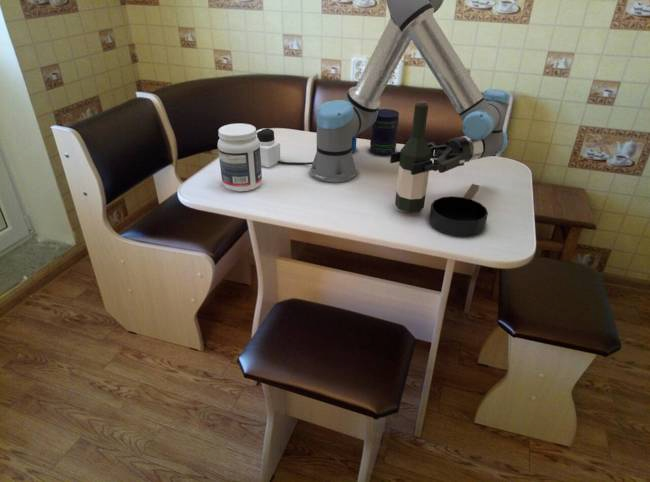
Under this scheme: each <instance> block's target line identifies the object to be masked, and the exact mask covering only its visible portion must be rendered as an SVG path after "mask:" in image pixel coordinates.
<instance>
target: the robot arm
mask: <svg viewBox="0 0 650 482" xmlns="http://www.w3.org/2000/svg"><path fill="white" fill-rule="evenodd" d="M385 1H386V6H387V9H388V12H389V17H390V18H389V20H388V22H387V24H386V26H385V28H384V30H383V32H382V34H381V36H380V37H379V38H380V39H379V40H378V42H377V44H376V46H375V47H374V50H373V52H372V54H371V56H370V58H369V60H368V62H367V64H366V66H365V68H364V69H363V71H362V74H361V75H360V76H359V77H360V78H359V80H358V82H357V83H356V85H354V86H352V87H350V88H349V89H348V91H347V93H346V95H345V97H344V99H333V100H328V101H325V102H323V103H322V104H320V105H319V106H318V108H317V110H316V117H315V122H316V153H315V154H314V158H313V160H312V161H311V162H309V161H308V162H307V161H306V162H293V161H292V162H290V161H289V162H288V161H278V163H277V164H281V165H282V164H283V165H296V166H297V165H298V166H299V165H300V166H306V165H311V167H310V168H311V169H310V174H311V176H312V177H313V178H314V179H316V180H318V181H320V182H325V183H343V182H344V183H345V182H349V181H351V180H352V179H354V178H355V177H356V176H357V167H356V164H355V160H354V156H353V152H351V151H352V137H354V136H356V135H357V136H358V135H359V134H360V133H363V132H365V131H367V130H368V129H369V128H372V125H373V123H374V122H375V121H376V118H377V115H378V109H380V106H381V102H380V98H381V96H382V94H383V92H384V90H385V88H386V87H387V86H388V83H389V81H390V79H391V77H393V74H394V72H395V70H396V69H397V67H398V65H399V63H400V61H401V60H402V57H404V54H405V52H406V51H407V49H408V47H409V45H410V43H411V42H412V43H413V46H414V47H415V48H416V49H417V52H419V54H420V56H421V58H422V59H423V60H424V62H425V64H426V65H427V67H428V68H429V70H430V72H431V73H432V75H433V77H434V78H435V79H436V81H437V83H438V84H439V86H440V87H441V89H442V91H443V92H444V94H445V95H446V97H447V98H448V100H449V101H450V103H451V104H452V106H453V108H454V110H455V111H456V113H457V114H458V116H459V117H460V119H461V121H462V125H461V128H462V132H463V134H464V135H462V136H458V137H453V138H450V139H449V140H448V141H447V142H446V143H445V144H440V145H436V142H434V141H430V142H427V144H428V146H429V148H430V150H431V153H432V154H431V160H429V161H425V162H420V163H416V164H412V168H411V174H412V175H415V174H419V173H423V172H427V171H429V172H430V171H433V172H437V171H438V173H439V174H443V173H446V172H448V171H450V170H453V169H454V168H457V167H462V166H465V163H469V162H472V161H475V160H479V159H483V158H488V157H494V156H496V155H499V154H501V153H503V152H504V151H505V150H506V149H507V147H508V143H509V141H508V135H507V133H506V132H505V131H504V126H505V122H506V118H507V113H508V110H509V106H510V99H511V94H510V93H509V92H508V91H506V90H503V89H497V88H490V89H489V88H488V89H486V90H484V91H483V93H482V91H481V90H480V89H479V87H478V86H477V84H476V82H475V80H474V79H473V77H472V75H470V73H469V71H468V70H467V68H466V66H465V65H464V63H463V61H462V60H461V57H460V56H459V54H458V53H457V52H456V50H455V49H454V46H452V44H451V42H450V41H449V39H448V38H447V36H446V34H445V33H444V31H443V30H442V28H441V25H439V23H438V21H437V19H436V18H435V16H434V13H436V12H438V10H440V8H441V7H442V6H443V3H444V1H445V0H385ZM389 158H390V160H389V163H390V164H396V163H399V161H400V151H395V153H391V156H390V157H389Z"/></svg>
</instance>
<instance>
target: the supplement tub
mask: <svg viewBox="0 0 650 482" xmlns="http://www.w3.org/2000/svg"><path fill="white" fill-rule="evenodd" d="M218 137H219V139H218V141H217V152H218V159H219V167H220V176H221V183H222V185H223V187H225V188H226V189H228V190H230V191H234V192H246V191H247V192H248V191H251V190H254V189H257V188H258V187H259V186H261V184H262V182H263V172H262V166H261V155H260V142H259V139H258V138H257V127H256V126H254V125H252V124H249V123H229V124H225V125H222V126H221V127H219V128H218Z"/></svg>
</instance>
